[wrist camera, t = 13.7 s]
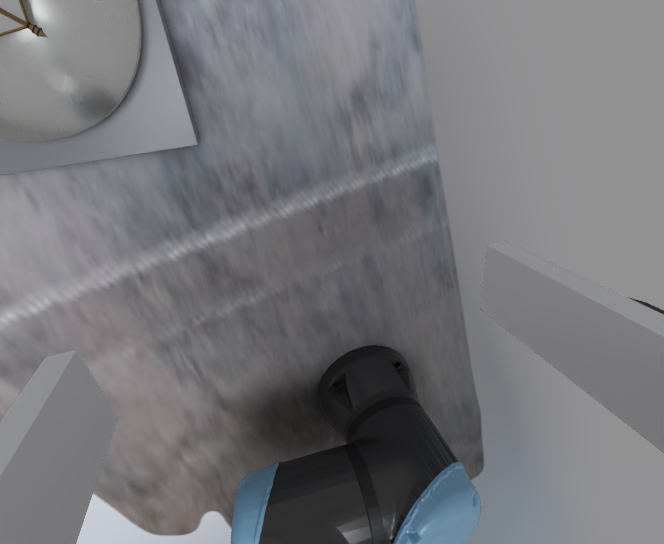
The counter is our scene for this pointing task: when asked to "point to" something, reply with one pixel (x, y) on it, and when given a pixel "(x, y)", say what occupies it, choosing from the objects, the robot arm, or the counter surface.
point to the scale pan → (67, 67)
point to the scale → (124, 112)
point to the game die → (16, 18)
